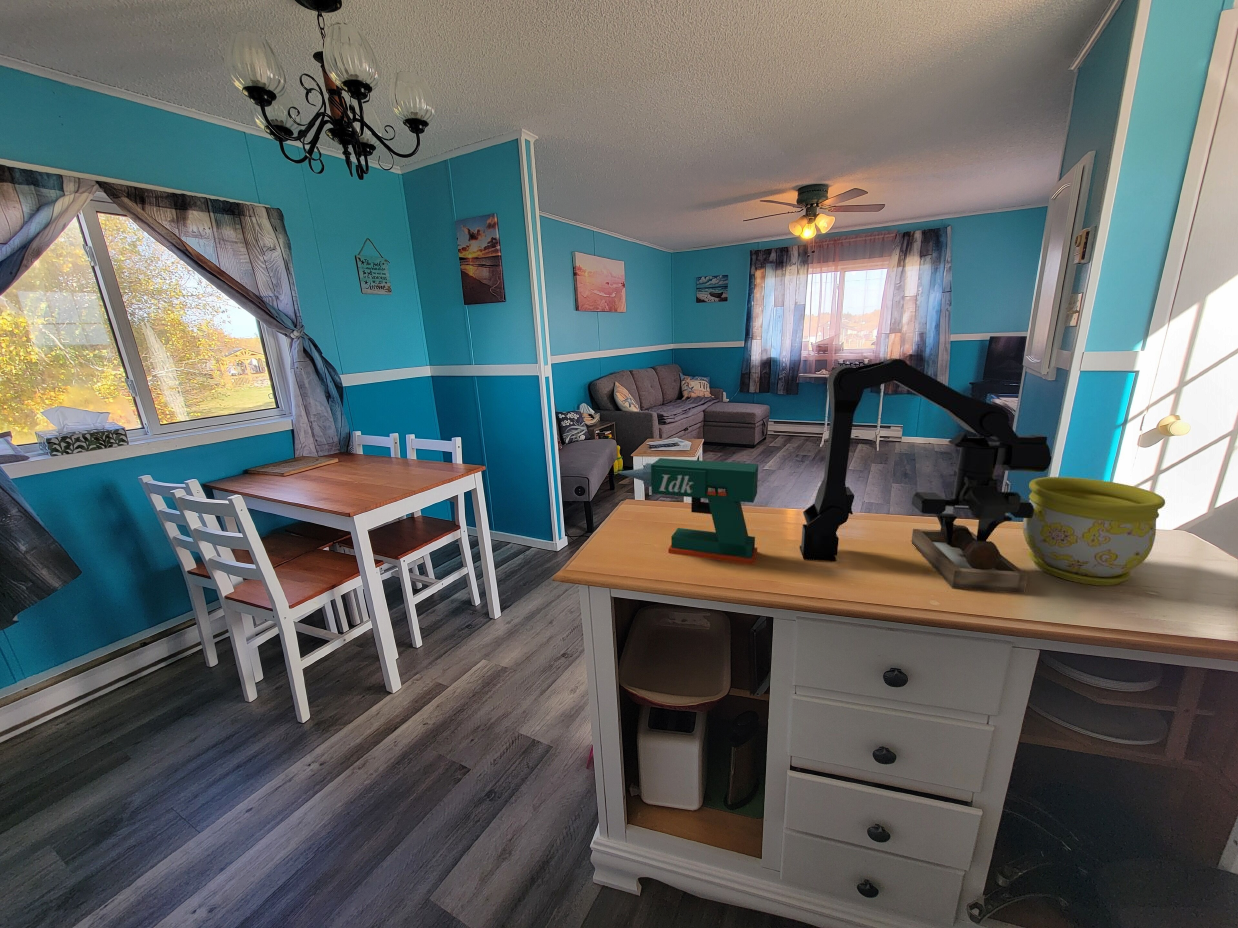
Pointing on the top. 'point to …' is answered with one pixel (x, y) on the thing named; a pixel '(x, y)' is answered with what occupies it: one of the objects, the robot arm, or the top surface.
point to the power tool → (707, 504)
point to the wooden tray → (966, 566)
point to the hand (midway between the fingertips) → (963, 545)
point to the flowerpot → (1090, 528)
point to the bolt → (975, 549)
